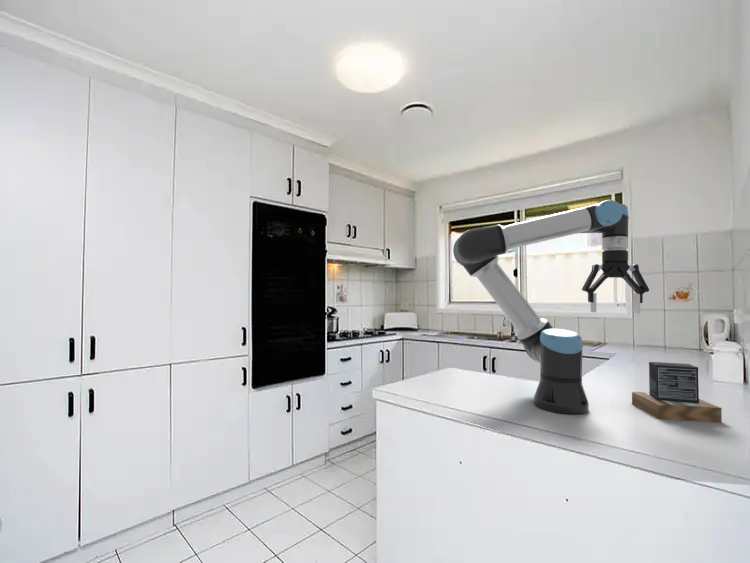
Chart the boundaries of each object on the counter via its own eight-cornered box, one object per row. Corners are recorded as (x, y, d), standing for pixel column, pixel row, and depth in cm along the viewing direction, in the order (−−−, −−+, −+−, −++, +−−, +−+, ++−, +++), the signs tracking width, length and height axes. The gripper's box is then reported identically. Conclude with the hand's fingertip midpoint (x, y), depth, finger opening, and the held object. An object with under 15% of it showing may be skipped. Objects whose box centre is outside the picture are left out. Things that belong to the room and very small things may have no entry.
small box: (689, 397, 115) (689, 363, 115) (700, 404, 108) (700, 367, 109) (648, 394, 118) (648, 360, 118) (656, 400, 112) (656, 364, 112)
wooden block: (658, 418, 107) (658, 404, 107) (632, 404, 121) (632, 391, 121) (721, 422, 105) (721, 407, 105) (687, 406, 119) (686, 393, 119)
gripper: (580, 249, 127) (580, 312, 127) (661, 249, 124) (661, 314, 123) (572, 251, 134) (571, 311, 134) (648, 251, 131) (648, 312, 131)
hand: (614, 312), depth 129 cm, fingers open, 13 cm apart
